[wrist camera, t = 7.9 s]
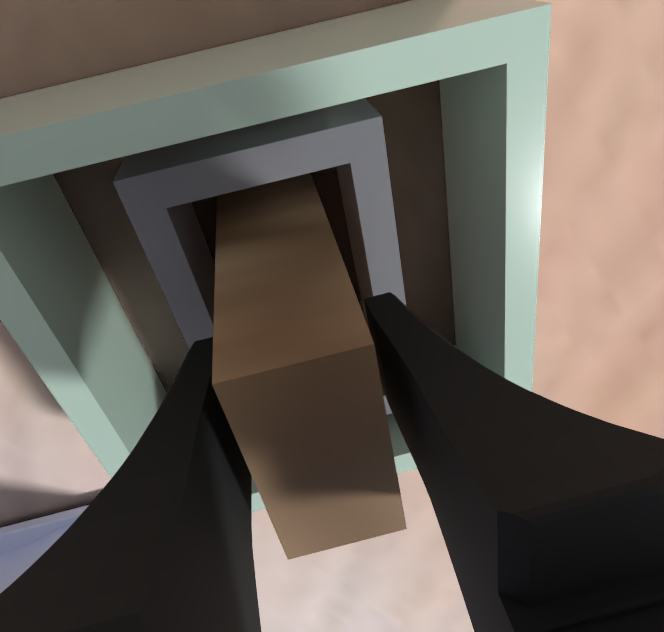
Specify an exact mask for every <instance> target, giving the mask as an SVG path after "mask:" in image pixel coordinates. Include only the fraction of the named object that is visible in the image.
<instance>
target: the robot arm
mask: <svg viewBox="0 0 664 632" xmlns="http://www.w3.org/2000/svg"><path fill="white" fill-rule="evenodd" d="M364 303H365V309H366V314H367V320H368V325H369V330H370V334H371V337H372V339H373V342H374V345H375V351H376V357H377V363H378V368H379V374H380V380H381V383H382V386H383V389H384V393H385V396H386V399H387V402H388V404H389V407H390V409H391V411H392V413H393V416H394V418H395V420H396V422H397V424H398V427H399V429H400V431H401V433H402V436H403V438H404V440H405V442H406V444H407V447H408V449H409V451H410V453H411V455H412V457H413V460H414V462H415V464H416V466H417V469H418V471H419V473H420V475H421V477H422V480H423V482H424V484H425V487H426V489H427V492H428V494H429V497H430V499H431V502H432V505H433V508H434V511H435V514H436V516H437V519H438V522H439V525H440V528H441V531H442V534H443V537H444V540H445V543H446V546H447V549H448V552H449V555H450V558H451V561H452V564H453V567H454V570H455V573H456V576H457V579H458V582H459V585H460V588H461V591H462V594H463V598H464V601H465V604H466V607H467V610H468V613H469V616H470V619H471V622H472V625H473V629H474V632H664V439H662V438H659V437H655V436H652V435H648V434H645V433H642V432H638V431H635V430H631V429H628V428H625V427H621V426H618V425H614V424H611V423H608V422H605V421H603V420H600V419H597V418H594V417H592V416H589V415H586V414H583V413H580V412H578V411H575V410H573V409H570V408H568V407H565V406H563V405H560V404H558V403H556V402H553V401H551V400H549V399H547V398H544V397H542V396H540V395H538V394H535V393H533V392H531V391H529V390H527V389H525V388H523V387H521V386H519V385H517V384H515V383H513V382H511V381H509V380H507V379H506V378H504V377H502V376H500V375H498V374H497V373H495V372H493V371H492V370H490V369H488V368H487V367H485V366H483V365H482V364H480V363H479V362H477V361H476V360H474V359H473V358H471V357H470V356H468V355H467V354H465V353H464V352H462V351H461V350H459V349H458V348H457V347H455V346H454V345H453V344H451V343H450V342H448V341H447V340H446V339H445V338H443V337H442V336H441V335H440V334H438V333H437V332H436V331H434V330H433V329H432V328H431V327H429V326H428V325H427V324H426V323H425V322H423V321H422V320H421V319H420V318H419V317H418V316H417V315H415V314H414V313H413V312H412V311H411V310H410V309H409V308H408V307H407V306H406V305H404V304H403V303H402V302H401V301H400V300H399V299H398V298H397V297H396V296H395V295H394V294H392V293H391V292H388V293H384V294H380V295H376V296H372V297H369V298H365V299H364ZM212 363H213V337H210V338H206V339H202V340H198V341H194V343H193V345H192V346H191V348H190V350H189V352H188V354H187V356H186V358H185V360H184V362H183V364H182V366H181V368H180V370H179V372H178V374H177V376H176V377H175V379H174V381H173V383H172V385H171V387H170V389H169V391H168V392H167V394H166V396H165V398H164V400H163V401H162V403H161V405H160V407H159V409H158V410H157V412H156V414H155V416H154V417H153V419H152V420H151V422H150V424H149V425H148V427H147V428H146V430H145V432H144V433H143V435H142V436H141V438H140V439H139V441H138V443H137V444H136V446H135V447H134V449H133V450H132V452H131V453H130V454H129V456H128V457H127V459H126V460H125V462H124V463H123V464H122V466H121V467H120V468H119V469H118V471H117V472H116V473H115V475H114V476H113V477H112V479H111V480H110V481H109V482H108V484H107V485H106V486H105V487H104V489H103V490H102V491H101V492H100V493H99V494H98V495H97V497H96V498H95V499H94V500H93V501H92V502H91V503H90V505H86V506H82V507H78V508H75V509H71V510H67V511H63V512H59V513H55V514H51V515H48V516H44V517H40V518H36V519H32V520H28V521H24V522H21V523H17V524H13V525H9V526H5V527H1V528H0V632H261V626H260V617H259V608H258V599H257V590H256V580H255V570H254V560H253V550H252V529H251V510H252V475H251V473H250V471H249V469H248V466H247V464H246V462H245V459H244V457H243V455H242V452H241V450H240V448H239V446H238V443H237V441H236V439H235V436H234V434H233V432H232V429H231V427H230V425H229V423H228V420H227V418H226V416H225V413H224V411H223V409H222V406H221V404H220V402H219V400H218V397H217V395H216V393H215V390H214V388H213V386H212Z"/></svg>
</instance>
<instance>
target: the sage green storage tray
mask: <svg viewBox="0 0 664 632" xmlns="http://www.w3.org/2000/svg"><path fill="white" fill-rule="evenodd" d="M551 6H552V4H551V3H546V2H541V1H536V0H411V1H407V2H403V3H399V4H394V5H390V6H386V7H382V8H378V9H374V10H369V11H365V12H361V13H357V14H353V15H348V16H344V17H340V18H336V19H332V20H327V21H323V22H319V23H315V24H311V25H307V26H302V27H298V28H294V29H290V30H286V31H281V32H277V33H273V34H269V35H265V36H260V37H256V38H252V39H248V40H244V41H240V42H235V43H231V44H227V45H223V46H219V47H214V48H210V49H206V50H202V51H198V52H194V53H189V54H185V55H181V56H177V57H173V58H168V59H164V60H160V61H156V62H152V63H147V64H143V65H139V66H135V67H131V68H127V69H122V70H118V71H114V72H110V73H106V74H101V75H97V76H93V77H89V78H85V79H80V80H76V81H72V82H68V83H64V84H60V85H55V86H51V87H47V88H43V89H39V90H34V91H30V92H26V93H22V94H18V95H14V96H9V97H5V98H1V99H0V320H1V322H2V323H3V325H4V326H5V327H6V329H7V330H8V332H9V333H10V335H11V336H12V337H13V339H14V340H15V342H16V343H17V345H18V346H19V347H20V349H21V350H22V352H23V353H24V355H25V356H26V357H27V359H28V360H29V362H30V363H31V365H32V366H33V367H34V369H35V370H36V372H37V373H38V375H39V376H40V377H41V379H42V380H43V382H44V383H45V385H46V386H47V387H48V389H49V390H50V392H51V393H52V395H53V396H54V397H55V399H56V400H57V402H58V403H59V405H60V406H61V407H62V409H63V410H64V412H65V413H66V415H67V416H68V417H69V419H70V420H71V422H72V423H73V425H74V426H75V427H76V429H77V430H78V432H79V433H80V435H81V436H82V437H83V439H84V440H85V442H86V443H87V445H88V446H89V447H90V449H91V450H92V452H93V453H94V455H95V456H96V457H97V459H98V460H99V462H100V463H101V465H102V466H103V467H104V469H105V470H106V472H107V473H108V475H109V476H110V477H111V479H112V477H113V476H114V475H115V473H116V472H117V471H118V469H119V468H120V467H121V466H122V464H123V463H124V462H125V460H126V459H127V457H128V456H129V454H130V453H131V452H132V450H133V449H134V447H135V446H136V444H137V443H138V441H139V439H140V438H141V436H142V435H143V433H144V432H145V430H146V428H147V427H148V425H149V424H150V422H151V420H152V419H153V417H154V416H155V414H156V412H157V410H158V409H159V407H160V405H161V403H162V401H163V400H164V398H165V396H166V394H167V392H166V390H165V388H164V387H163V385H162V383H161V381H160V379H159V377H158V375H157V373H156V371H155V369H154V367H153V365H152V363H151V362H150V360H149V358H148V356H147V354H146V352H145V350H144V348H143V346H142V344H141V342H140V340H139V338H138V337H137V335H136V333H135V331H134V329H133V327H132V325H131V323H130V321H129V319H128V317H127V315H126V313H125V311H124V310H123V308H122V306H121V304H120V302H119V300H118V298H117V296H116V294H115V292H114V290H113V288H112V286H111V285H110V283H109V281H108V279H107V277H106V275H105V273H104V271H103V269H102V267H101V265H100V263H99V261H98V260H97V258H96V256H95V254H94V252H93V250H92V248H91V246H90V244H89V242H88V240H87V238H86V236H85V235H84V233H83V231H82V229H81V227H80V225H79V223H78V221H77V219H76V217H75V215H74V213H73V211H72V210H71V208H70V206H69V204H68V202H67V200H66V198H65V196H64V194H63V192H62V190H61V188H60V186H59V185H58V183H57V181H56V179H55V177H54V175H53V174H54V173H58V172H62V171H66V170H70V169H75V168H79V167H83V166H87V165H91V164H95V163H99V162H103V161H107V160H112V159H116V158H120V157H124V158H123V160H122V162H121V165H120V167H119V169H118V171H117V173H116V176H115V178H114V180H113V184H114V186H115V188H116V190H117V192H118V195H119V197H120V199H121V201H122V203H123V206H124V208H125V210H126V212H127V214H128V217H129V219H130V221H131V223H132V225H133V228H134V230H135V232H136V234H137V236H138V239H139V241H140V243H141V245H142V247H143V250H144V252H145V254H146V256H147V258H148V261H149V263H150V265H151V267H152V269H153V272H154V274H155V276H156V278H157V280H158V283H159V285H160V287H161V289H162V291H163V294H164V296H165V298H166V300H167V302H168V305H169V307H170V309H171V311H172V313H173V316H174V318H175V320H176V322H177V324H178V327H179V329H180V331H181V333H182V335H183V338H184V340H185V342H186V344H187V346H188V349H189V350H190V348H191V346H192V345H193V343H194V341H198V340H202V339H206V338H210V337H213V326H214V290H215V264H214V262H213V259H212V256H211V253H210V251H209V248H208V245H207V243H206V240H205V237H204V235H203V232H202V229H201V227H200V224H199V221H198V218H197V216H196V213H195V210H194V208H193V205H192V202H194V201H198V200H202V199H206V198H210V197H214V196H218V195H222V194H226V193H230V192H234V191H238V190H242V189H246V188H250V187H254V186H259V185H263V184H267V183H271V182H275V181H279V180H283V179H287V178H291V177H295V176H299V175H303V174H307V173H311V172H315V171H320V170H324V169H328V168H332V167H336V169H337V174H338V180H339V185H340V190H341V196H342V201H343V206H344V211H345V217H346V222H347V227H348V233H349V238H350V243H351V249H352V254H353V259H354V264H355V270H356V275H357V280H358V286H359V291H360V296H361V301H362V307H363V312H364V317H365V320H366V323H367V326H368V329H369V325H368V320H367V314H366V309H365V303H364V299H365V298H369V297H372V296H376V295H380V294H384V293H388V292H391V293H392V294H394V295H395V296H396V297H397V298H398V299H399V300H400V301H401V302H402V303H403V304H404V305H406V300H405V292H404V284H403V276H402V269H401V261H400V253H399V245H398V237H397V230H396V222H395V214H394V206H393V198H392V191H391V183H390V175H389V167H388V160H387V152H386V144H385V136H384V128H383V121H382V116H381V114H380V113H379V112H378V111H377V110H376V109H375V108H374V107H373V106H372V105H371V103H370V102H369V101H368V100H367V99H366V98H367V97H371V96H375V95H379V94H383V93H387V92H391V91H395V90H400V89H404V88H408V87H412V86H416V85H420V84H424V83H428V82H432V81H437V80H439V83H440V99H441V114H442V130H443V146H444V162H445V177H446V193H447V209H448V225H449V241H450V256H451V272H452V288H453V304H454V320H455V335H456V345H454V346H455V347H457V348H458V349H459V350H461V351H462V352H464V353H465V354H467V355H468V356H470V357H471V358H473V359H474V360H476V361H477V362H479V363H480V364H482V365H483V366H485V367H487V368H488V369H490V370H492V371H493V372H495V373H497V374H498V375H500V376H502V377H504V378H506V379H507V380H509V381H511V382H513V383H515V384H517V385H519V386H521V387H523V388H525V389H527V390H529V391H531V392H532V383H533V363H534V343H535V323H536V303H537V284H538V264H539V244H540V224H541V204H542V184H543V164H544V145H545V125H546V105H547V85H548V65H549V45H550V26H551ZM369 331H370V330H369ZM381 385H382V383H381ZM382 391H383V397H384V403H385V408H386V414H387V420H388V425H389V431H390V437H391V443H392V448H393V454H394V460H395V465H396V471H397V474H398V473H402V472H406V471H410V470H414V469H417V466H416V464H415V462H414V460H413V457H412V455H411V453H410V451H409V449H408V447H407V444H406V442H405V440H404V438H403V436H402V433H401V431H400V429H399V427H398V424H397V422H396V420H395V418H394V416H393V413H392V411H391V409H390V407H389V404H388V402H387V399H386V396H385V393H384V389H383V386H382ZM261 509H265V505H264V503H263V501H262V498H261V496H260V494H259V492H258V489H257V487H256V485H255V482H254V480H253V478H252V510H251V512H253V511H257V510H261Z"/></svg>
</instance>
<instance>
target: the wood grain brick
mask: <svg viewBox="0 0 664 632" xmlns="http://www.w3.org/2000/svg"><path fill="white" fill-rule="evenodd" d="M212 386H213V388H214V390H215V393H216V395H217V397H218V400H219V402H220V404H221V406H222V409H223V411H224V413H225V416H226V418H227V420H228V423H229V425H230V427H231V429H232V432H233V434H234V436H235V439H236V441H237V443H238V446H239V448H240V450H241V452H242V455H243V457H244V459H245V462H246V464H247V466H248V469H249V471H250V473H251V475H252V478H253V480H254V482H255V485H256V487H257V489H258V492H259V494H260V496H261V498H262V501H263V503H264V505H265V508H266V510H267V512H268V515H269V517H270V519H271V522H272V524H273V526H274V528H275V531H276V533H277V535H278V538H279V540H280V542H281V545H282V547H283V549H284V551H285V554H286V556H287V558H288V559H292V558H296V557H300V556H304V555H308V554H311V553H315V552H319V551H323V550H327V549H331V548H335V547H338V546H342V545H346V544H350V543H354V542H358V541H361V540H365V539H369V538H373V537H377V536H381V535H385V534H388V533H392V532H396V531H400V530H404V529H407V528H406V523H405V517H404V511H403V505H402V500H401V494H400V488H399V483H398V477H397V471H396V465H395V460H394V454H393V448H392V443H391V437H390V431H389V425H388V420H387V414H386V408H385V403H384V397H383V391H382V385H381V380H380V374H379V368H378V363H377V357H376V351H375V345H374V342H373V339H372V337H371V334H370V331H369V329H368V326H367V323H366V320H365V318H364V315H363V312H362V310H361V307H360V304H359V302H358V299H357V296H356V294H355V291H354V288H353V286H352V283H351V280H350V278H349V275H348V272H347V269H346V267H345V264H344V261H343V259H342V256H341V253H340V251H339V248H338V245H337V243H336V240H335V237H334V235H333V232H332V229H331V227H330V224H329V221H328V218H327V216H326V213H325V210H324V208H323V205H322V202H321V200H320V197H319V194H318V192H317V189H316V186H315V184H314V181H313V178H312V176H311V173H307V174H303V175H299V176H295V177H291V178H287V179H283V180H279V181H275V182H271V183H267V184H263V185H259V186H254V187H250V188H246V189H242V190H238V191H234V192H230V193H226V194H222V195H218V196H217V217H216V253H215V290H214V326H213V363H212Z"/></svg>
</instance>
